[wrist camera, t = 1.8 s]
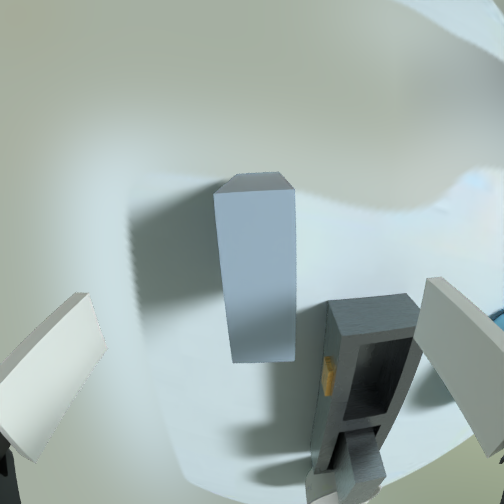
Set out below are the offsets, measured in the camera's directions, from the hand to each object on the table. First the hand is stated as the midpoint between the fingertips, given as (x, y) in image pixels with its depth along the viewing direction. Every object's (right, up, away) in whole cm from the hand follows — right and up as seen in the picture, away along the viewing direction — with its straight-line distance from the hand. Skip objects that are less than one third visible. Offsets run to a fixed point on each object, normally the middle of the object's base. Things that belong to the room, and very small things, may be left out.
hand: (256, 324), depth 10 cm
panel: (0, +4, +11) cm, 12 cm away
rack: (+11, -12, +17) cm, 23 cm away
